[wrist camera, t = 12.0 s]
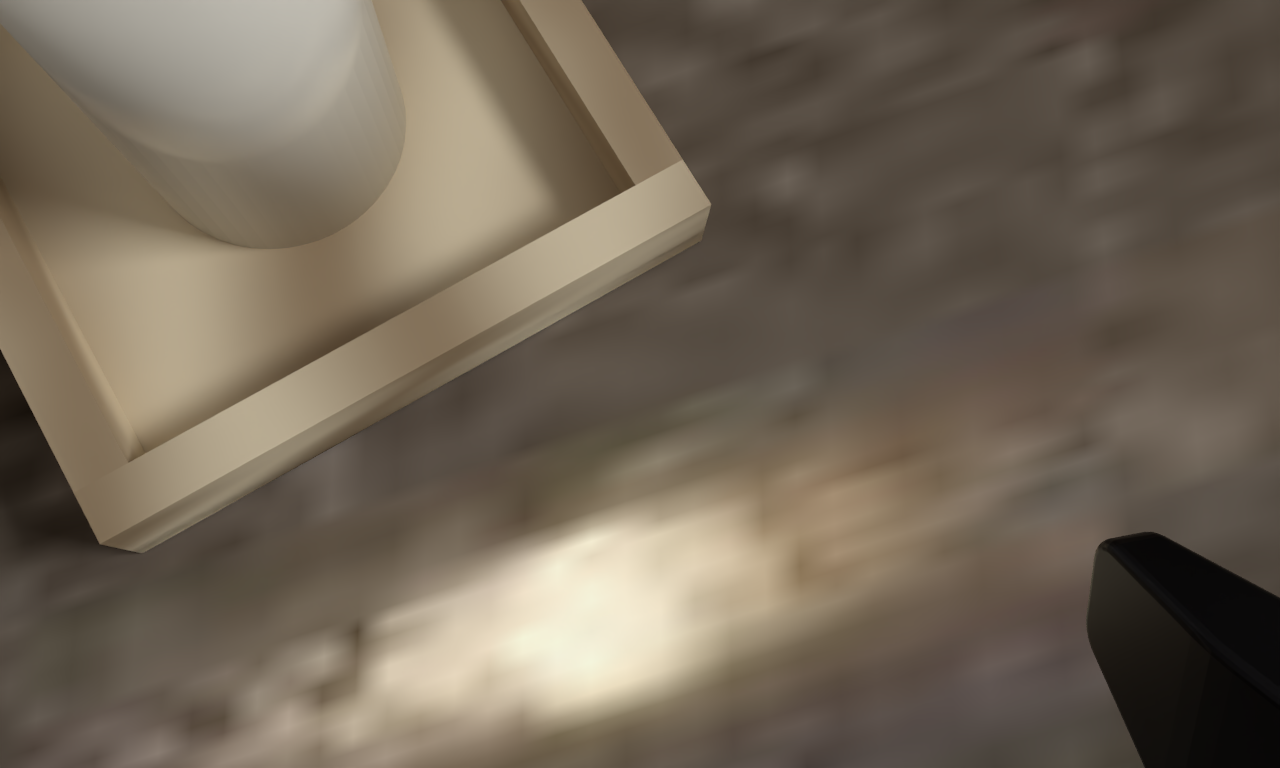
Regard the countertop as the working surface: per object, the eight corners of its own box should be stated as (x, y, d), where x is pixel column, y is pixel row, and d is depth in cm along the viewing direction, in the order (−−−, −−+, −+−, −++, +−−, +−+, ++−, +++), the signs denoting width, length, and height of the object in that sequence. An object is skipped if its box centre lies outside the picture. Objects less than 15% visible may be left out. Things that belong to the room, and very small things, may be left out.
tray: (142, 553, 22) (99, 544, 20) (-129, 29, 24) (-190, -25, 22) (700, 240, 24) (711, 204, 22) (407, -225, 26) (392, -297, 24)
